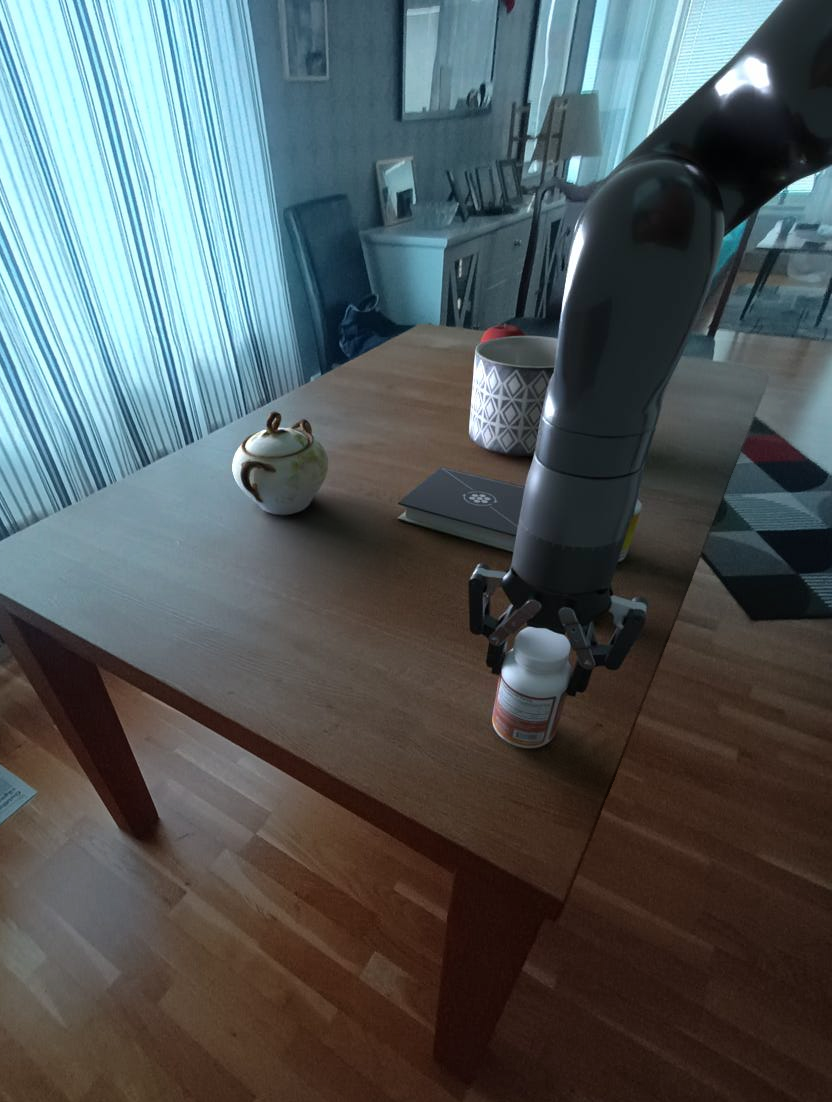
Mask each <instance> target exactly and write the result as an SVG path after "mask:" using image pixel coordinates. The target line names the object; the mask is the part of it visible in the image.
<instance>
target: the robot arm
mask: <svg viewBox="0 0 832 1102" xmlns="http://www.w3.org/2000/svg"><path fill="white" fill-rule="evenodd" d="M831 167H832V0H781V1H780V3H779V4H778V5H777V6H776V7H775V9H773V10H772V12H771V13H770V14H769V15H768V17H767V18H766V19H765V20H764V21H763V22H762V23H761V24H760V26H759V27H758V28H757V29H756V30H755V32H754V33H753V34H752V35H751V36H750V37H749V39H748V40H747V41H746V42H745V43H744V45H743V46H741V48H740V49H739V50H738V51H737V52H736V53H735V54H734V55H733V57H731V59H730V60H729V61H727V62H726V63H725V64H724V65H723V66H722V67H721V68H719V70H718V71H716V72H715V74H713V75H712V76H711V77H710V78H709V79H707V81H706V82H705V83H703V84H702V85H701V86H700V87H699V88H698V89H696V90H695V92H693V94H691V95H690V96H689V97H688V98H687V99H686V100H685V101H684V102H682V104H681V105H679V106H678V107H677V108H676V109H675V110H674V111H673V112H672V113H671V114H670V115H669V116H668V117H666V119H664V120H663V121H662V122H661V123H660V124H659V125H657V127H656V128H655V129H654V130H653V131H652V132H650V134H649V135H647V137H645V138H644V139H643V140H642V141H640V143H639V144H638V145H637V146H636V147H635V148H634V149H632V151H631V152H630V153H629V154H628V155H627V156H626V157H624V159H622V161H620V163H618V164H617V165H616V166H615V167H614V168H613V169H612V170H611V172H609V173H608V174H607V175H606V177H604V179H603V180H602V181H601V182H600V183H599V184H598V185H597V186H596V188H594V190H593V191H592V193H591V194H590V195H589V197H588V198H587V200H586V202H585V203H584V205H583V207H582V209H581V211H580V213H579V215H578V218H577V221H576V224H575V228H574V229H573V235H572V238H571V243H570V248H569V254H568V261H567V268H566V275H565V282H564V288H563V289H564V290H563V296H562V303H561V311H560V318H559V324H558V333H557V338H558V341H557V349H556V357H555V367H554V373H553V374H552V377H551V379H550V382H549V385H548V388H547V392H546V395H545V399H544V404H543V409H542V413H541V419H540V424H539V430H538V436H537V441H536V447H535V453H534V456H533V458H532V461H531V464H530V468H529V470H528V472H527V476H526V479H525V485H524V486H525V489H524V495H523V500H522V506H521V512H520V518H519V524H518V529H517V535H516V541H515V547H514V552H513V553H512V559H511V565H510V566H509V568H508V569H507V570H506V571H502V570H501V571H500V570H493V569H492V570H491V567H490V566H489V564H488V563H484V562H481V563H478V564H477V565H476V567H475V569H474V571H473V572H472V574H471V576H470V578H469V580H468V583H467V584H468V586H467V587H468V619H469V620H468V623H469V625H468V626H469V632H470V633H472V635H475V636H481V635H482V636H484V637H485V638H486V639H487V640H488V646H487V651H486V652H487V653H486V659H485V664H486V667H487V668H491V671H490V672H491V673H490V674H492V675H496V676H500V670H501V665H502V661H503V659H504V657H505V655H506V654H507V649H508V643H509V638H510V636H511V635H515V634H517V632H518V631H519V630H520V629H521V628H522V627H523V626H525V624H526V627H533V628H545V629H548V630H550V631H552V632H554V633H558V634H562V635H564V636H566V637H567V639H568V641H569V643H570V647H571V649H572V651H575V655H576V661H575V664H574V668H573V671H572V677H571V682H570V685H569V689H568V692H567V696H570V697H574V698H575V697H576V694H577V693H580V694H583V693H584V692H585V691H586V690H587V689H588V685H589V683H590V679H591V676H592V673H593V671H594V669H595V668H598V667H605V668H606V669H607V670H609V671H617V670H619V669H620V667H621V666H622V664H623V663H624V661H625V659H626V657H627V655H628V654H629V652H630V650H631V649H632V647H633V646H634V643H635V642H636V640H637V638H638V636H639V635H640V633H641V631H642V630H643V628H644V626H645V625H646V621H647V615H648V606H649V602H648V600H647V599H646V598H645V597H643V596H635V597H633V598H632V599H631V600H630V599H627V598H623V597H620V596H617V595H614V591H613V588H612V581H613V578H614V576H615V572H616V570H617V569H616V568H617V565H618V563H619V562H618V560H619V557H620V553H621V550H622V547H623V544H624V541H625V538H626V534H627V531H628V528H629V525H630V522H631V519H632V518H633V516H634V512H635V506H636V503H637V499H638V500H639V498H638V495H639V496H640V493H639V491H640V492H641V484H642V477H643V472H644V467H645V463H646V460H647V457H648V455H649V451H650V447H651V444H652V441H653V438H654V435H655V432H656V429H657V425H658V422H659V419H660V414H661V410H662V407H663V402H664V397H665V393H666V390H667V388H668V385H669V382H670V381H671V379H672V376H673V375H674V373H675V371H676V368H677V367H678V364H679V363H680V360H681V358H682V356H683V353H684V351H685V349H686V347H687V345H688V342H689V340H690V338H691V335H692V333H693V331H694V329H695V326H696V324H697V322H698V319H699V316H700V314H701V312H702V309H703V306H704V304H705V302H706V299H707V297H708V294H709V291H710V288H711V285H712V282H713V280H714V276H715V273H716V270H717V267H718V263H719V259H720V256H721V252H722V248H723V243H724V238H725V237H726V236H727V235H729V234H730V233H732V231H734V230H735V229H736V228H738V227H739V226H740V225H742V224H743V223H744V222H745V221H746V220H748V219H749V218H750V217H751V216H753V215H754V214H755V213H757V211H759V210H760V209H761V208H762V207H763V206H765V205H766V204H768V203H769V202H770V201H771V200H772V199H774V198H775V197H776V196H778V194H780V193H781V192H782V191H784V190H785V189H787V188H788V187H790V186H791V185H792V184H794V183H796V182H798V181H800V180H802V179H805V178H807V177H810V176H813V175H815V174H818V173H820V172H823V171H825V170H827V169H829V168H831ZM498 588H502V591H503V593H504V594H505V596H506V597H507V599H508V601H509V602H510V604H509V606H508V607H507V609H506V610H505V611H504V612H503V613H502V614H501V615H500V616H499V617H498V618H496V617H494V616H492V615H491V597H493V596H494V594H495V593H496V590H497V589H498ZM608 612H609V613H611V614H612V615H613V618H612V619H613V620H612V622H613V624H614V626H615V627H616V629H615V630H614V632H613V634H612V636H611V638H610V640H609V642H608V643H599V641H598V637H597V635H596V632H595V624H594V621H595V620H596V619H599V618H600V617H602V616H603V615H606V613H608Z"/></svg>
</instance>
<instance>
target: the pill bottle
mask: <svg viewBox="0 0 832 1102" xmlns="http://www.w3.org/2000/svg"><path fill="white" fill-rule="evenodd" d="M571 649H572V647H571V645H570V642H569V639H568V637H567V636H566V635H562V634H558V633H554V632H552V631H550V630H548V629H545V628H533V627H529V626H527V627H525V628H523V629H521V630H520V631H519V632H518V633H516V635H515V638H514V641H513V646H512V648H511V649H510V650H509V651H507V652H506V654H505V657H504V659H503V661H502V665H501V670H500V674H499V675H498V676H499V677H498V681H497V688H496V694H495V700H494V705H493V709H492V719H491V720H492V721H491V722H492V726H493V729H494V730H495V732H496V733H497V735H498V736H499V737H500V738H501V739H502V740H504V741H505V742H506V743H508V744H510V745H512V746H515V747H518V748H523V749H537V748H540V747H543V746H545V745H546V744H548V743H549V742H551V740H553V738H554V737H555V735H556V732H557V730H558V727H559V723H560V720H561V715H562V712H563V708H564V705H565V702H566V699H567V696H568V695H567V692H568V689H569V685H570V682H571V677H572V674H573V671H572V667H571V666H572V665H571V663H570V661H569V659H570V653H571Z"/></svg>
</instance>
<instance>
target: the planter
mask: <svg viewBox="0 0 832 1102" xmlns="http://www.w3.org/2000/svg"><path fill="white" fill-rule="evenodd" d="M557 341H558V337H551V336H543V335H542V336H541V335H525V336H510V337H502V338H496V339H492V340H488V341H485V342H483V343H481V344H480V343H479V344H478V345H477V346H476V347H475V350H474V363H473V376H472V387H471V401H470V413H469V427H468V434H469V437H470V439H471V440H472V442H474V443H475V444H476V445H477V446H479V447H480V448H483V449H484V450H487V451H490V452H493V453H497V454H500V455H501V454H503V455H507V456H516V457H532V456H533V457H534V453H535V447H536V441H537V436H538V430H539V424H540V419H541V413H542V409H543V404H544V399H545V395H546V392H547V388H548V385H549V382H550V379H551V377H552V374H553V373H554V367H555V357H556V349H557Z"/></svg>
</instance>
